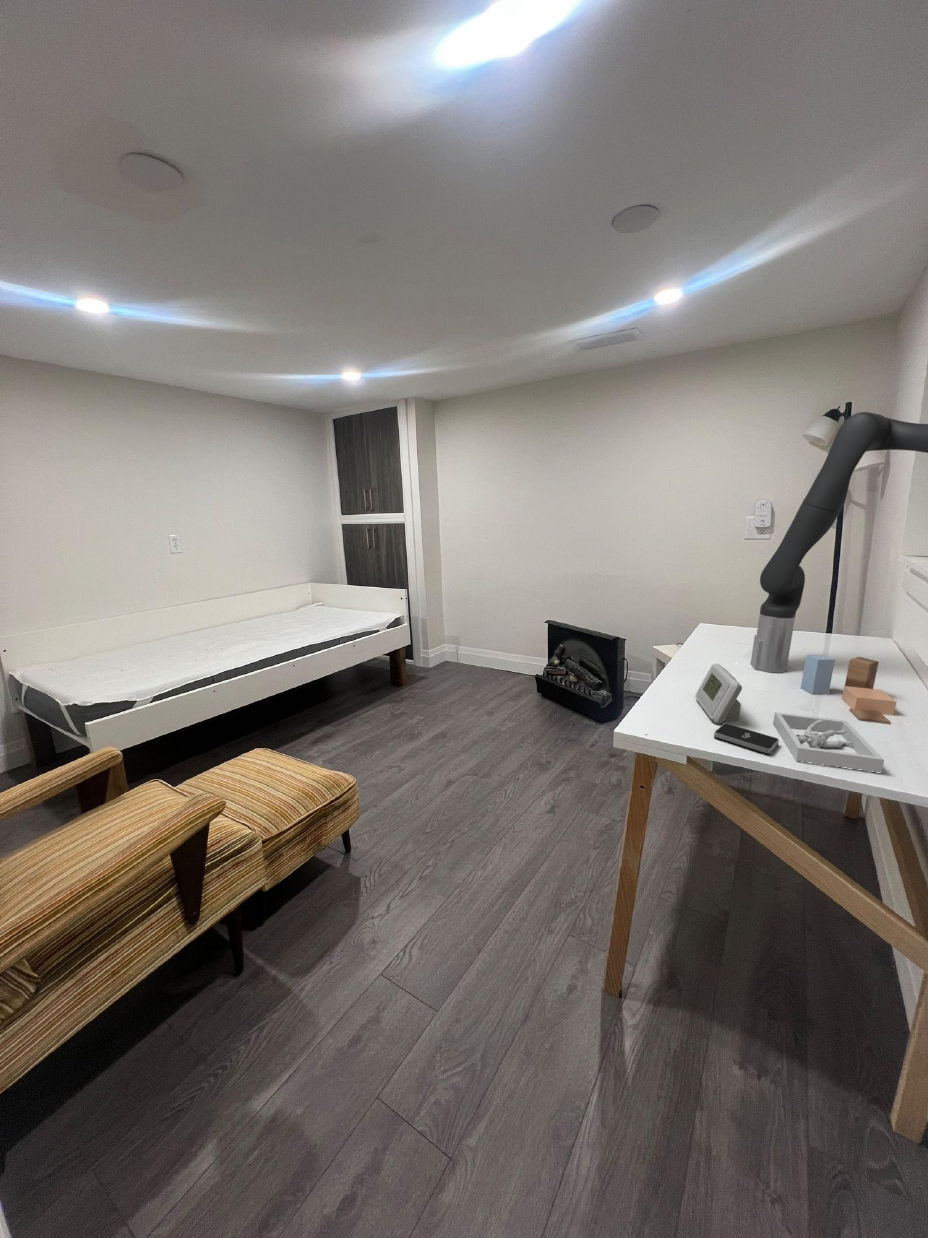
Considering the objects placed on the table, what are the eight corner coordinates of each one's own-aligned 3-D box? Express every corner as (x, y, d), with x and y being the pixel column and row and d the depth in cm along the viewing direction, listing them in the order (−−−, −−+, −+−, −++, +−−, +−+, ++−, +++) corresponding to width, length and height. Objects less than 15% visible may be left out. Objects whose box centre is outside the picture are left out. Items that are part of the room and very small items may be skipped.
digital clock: (694, 698, 129) (698, 660, 126) (732, 703, 126) (737, 664, 123) (698, 723, 114) (703, 680, 112) (741, 729, 111) (748, 686, 108)
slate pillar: (812, 694, 131) (818, 659, 129) (800, 688, 135) (806, 654, 133) (828, 694, 131) (835, 659, 129) (816, 688, 135) (822, 654, 133)
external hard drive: (768, 758, 99) (770, 750, 98) (712, 740, 107) (713, 732, 106) (778, 747, 104) (779, 738, 103) (723, 730, 111) (724, 722, 111)
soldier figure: (860, 757, 101) (828, 751, 96) (836, 764, 104) (804, 758, 99) (842, 721, 105) (810, 714, 100) (819, 729, 108) (788, 722, 103)
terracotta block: (853, 712, 121) (856, 697, 120) (841, 700, 128) (844, 686, 127) (893, 716, 118) (896, 701, 117) (878, 704, 125) (881, 689, 124)
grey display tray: (796, 761, 97) (798, 748, 96) (772, 724, 113) (774, 712, 113) (881, 774, 92) (884, 759, 92) (844, 733, 109) (846, 720, 108)
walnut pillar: (862, 699, 127) (869, 663, 125) (843, 694, 131) (849, 659, 129) (871, 697, 129) (878, 661, 127) (852, 691, 133) (859, 656, 131)
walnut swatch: (859, 720, 115) (859, 718, 115) (849, 710, 121) (849, 708, 121) (890, 724, 113) (890, 721, 113) (878, 713, 119) (878, 711, 119)
